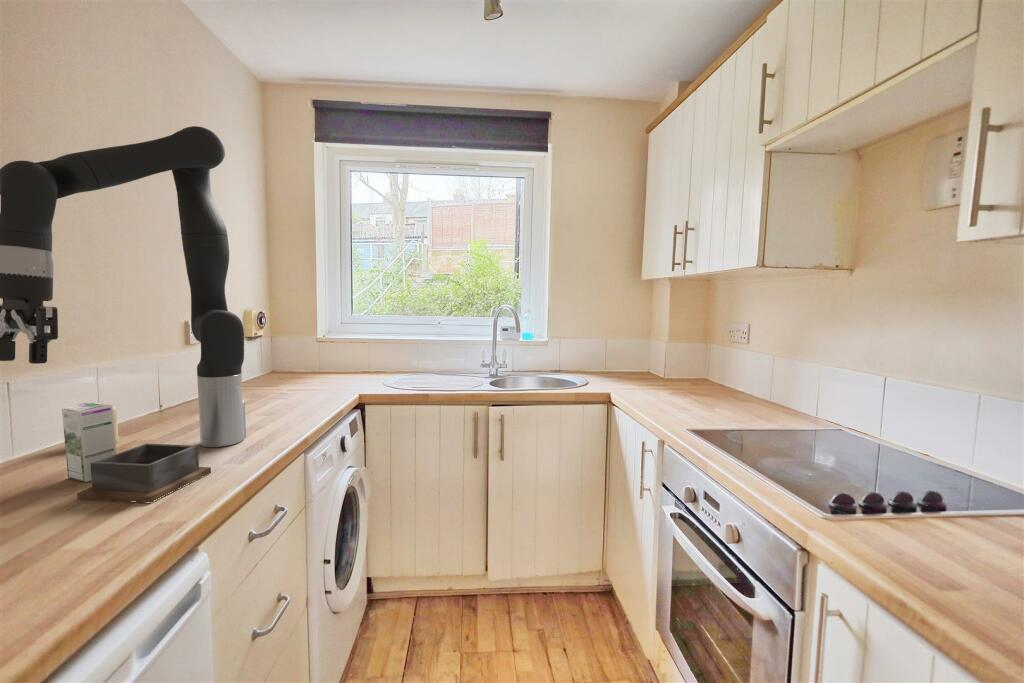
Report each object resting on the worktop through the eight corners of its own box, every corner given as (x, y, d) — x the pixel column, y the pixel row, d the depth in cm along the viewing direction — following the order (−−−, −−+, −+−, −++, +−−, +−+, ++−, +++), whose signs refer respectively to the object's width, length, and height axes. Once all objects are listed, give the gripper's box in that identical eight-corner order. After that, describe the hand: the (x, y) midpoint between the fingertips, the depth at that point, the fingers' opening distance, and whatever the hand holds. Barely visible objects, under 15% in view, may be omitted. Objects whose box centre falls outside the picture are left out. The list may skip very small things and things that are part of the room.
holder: (147, 469, 92) (146, 441, 92) (210, 472, 91) (209, 443, 91) (77, 499, 78) (75, 465, 78) (150, 503, 77) (149, 469, 77)
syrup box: (119, 472, 91) (114, 403, 89) (83, 483, 85) (78, 409, 84) (101, 468, 93) (97, 400, 91) (65, 479, 87) (60, 407, 86)
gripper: (76, 277, 82) (74, 363, 83) (23, 276, 86) (21, 358, 86) (23, 271, 75) (21, 365, 76) (-32, 270, 79) (-34, 360, 79)
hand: (21, 362), depth 81 cm, fingers open, 8 cm apart
